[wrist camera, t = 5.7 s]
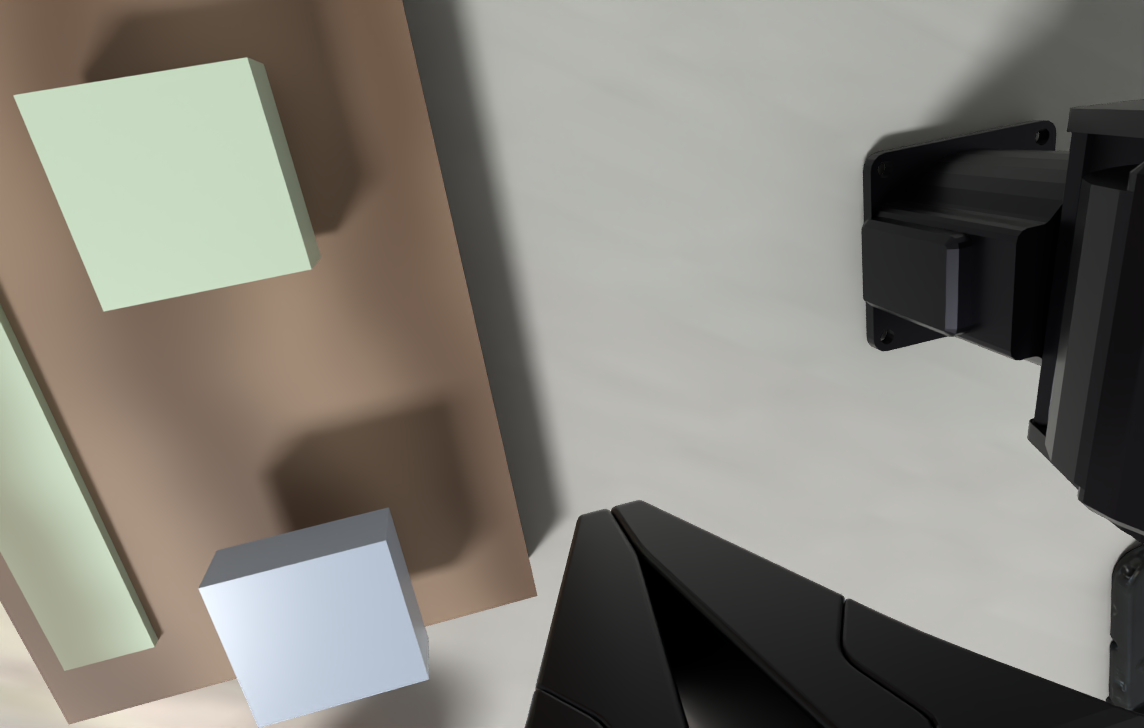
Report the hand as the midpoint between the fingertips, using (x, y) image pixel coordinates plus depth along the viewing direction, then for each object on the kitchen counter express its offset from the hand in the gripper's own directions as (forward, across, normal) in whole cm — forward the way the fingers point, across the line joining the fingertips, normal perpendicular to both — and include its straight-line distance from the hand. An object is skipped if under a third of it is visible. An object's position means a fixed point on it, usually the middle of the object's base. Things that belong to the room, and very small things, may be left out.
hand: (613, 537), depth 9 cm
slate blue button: (+9, +7, +6) cm, 13 cm away
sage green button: (+10, +7, -5) cm, 13 cm away
